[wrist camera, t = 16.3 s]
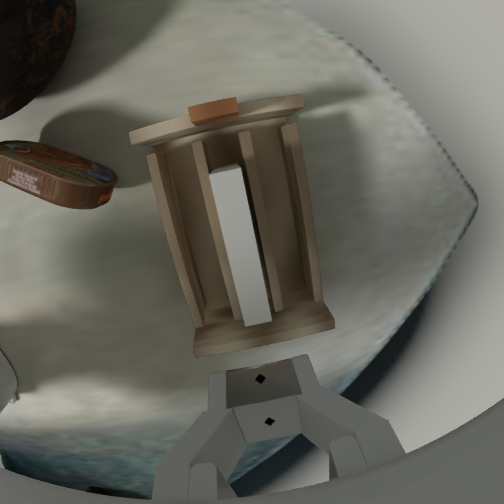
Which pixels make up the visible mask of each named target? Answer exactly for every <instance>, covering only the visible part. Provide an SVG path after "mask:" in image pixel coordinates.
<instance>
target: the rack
mask: <svg viewBox="0 0 504 504" xmlns="http://www.w3.org/2000/svg"><path fill="white" fill-rule="evenodd" d="M303 107H305V105H304V100H303V96H302V94H299V95H290V96H283V97H276V98H269V99H262V100H256V101H250V102H245V103H239V104H237V101H236V97H232V98H227V99H222V100H218V101H213V102H208V103H204V104H200V105H196V106H192V107H188V110H189V115H185V116H181V117H178V118H174V119H170V120H167V121H163V122H160V123H156V124H153V125H150V126H146V127H143V128H140V129H137V130H134V131H131V132H129V136H130V141H131V145H145V146H153V148H154V152H155V153H153V154H149V155H146V158H147V162H148V166H149V171H150V175H151V179H152V183H153V187H154V191H155V195H156V199H157V203H158V207H159V211H160V215H161V218H162V222H163V226H164V229H165V233H166V236H167V240H168V243H169V247H170V250H171V254H172V257H173V260H174V264H175V267H176V270H177V274H178V277H179V280H180V283H181V286H182V289H183V293H184V296H185V299H186V302H187V305H188V308H189V311H190V314H191V317H192V320H193V323H194V325H195V328H196V330H195V337H194V343H193V352H194V355H195V357H196V358H198V357H204V356H211V355H216V354H222V353H228V352H233V351H238V350H244V349H249V348H254V347H259V346H263V345H268V344H273V343H277V342H282V341H286V340H291V339H295V338H299V337H303V336H307V335H311V334H315V333H319V332H323V331H327V330H331V329H334V328H335V320H334V318H333V316H332V314H331V313H330V311H329V309H328V308H327V306H326V305H325V303H324V301H323V294H322V285H321V276H320V267H319V259H318V251H317V244H316V236H315V229H314V222H313V215H312V208H311V202H310V196H309V189H308V183H307V177H306V171H305V166H304V160H303V155H302V149H301V144H300V139H299V133H298V128H297V123H291V124H289V123H288V118H287V117H288V116H290V115H291V114H293V113H295V112H296V111H298V110H300V109H302V108H303ZM234 163H237V164H238V165H239V166H240V168H241V171H242V176H243V181H244V186H245V190H246V195H247V200H248V205H249V210H250V215H251V219H252V224H253V229H254V234H255V239H256V244H257V249H258V253H259V258H260V263H261V268H262V273H263V278H264V283H265V288H266V293H267V298H268V303H269V308H270V313H271V318H272V321H270V322H265V323H260V324H256V325H251V326H246V327H245V323H244V319H243V316H242V312H241V308H240V304H239V300H238V296H237V292H236V288H235V284H234V280H233V276H232V272H231V267H230V263H229V259H228V255H227V251H226V247H225V243H224V238H223V234H222V230H221V226H220V221H219V217H218V213H217V208H216V204H215V200H214V195H213V191H212V187H211V182H210V178H209V174H210V173H211V172H212V171H213V170H214V169H215V168H216V167H220V166H224V165H229V164H234Z"/></svg>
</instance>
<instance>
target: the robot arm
mask: <svg viewBox="0 0 504 504" xmlns="http://www.w3.org/2000/svg"><path fill="white" fill-rule="evenodd" d="M16 389H17V379H16V376H15V373H14V371H13V369H12V367H11V365H10V364H9V362H8V360H7V359H6V358H5V356H4V355H3V353H2V352H1V351H0V413H1V412H2V410H3V409H4V408H5V407H6V405H7V404H8V403H12V404H14V403H15V402H16V395H15V392H16ZM300 433H302V434H303V435H304V436H305V437H307V438H308V439H309V440H310V441H311V442H313V443H314V444H315V445H317V446H318V447H319V448H320V449H321V450H323V451H324V452H325V453H326V454H328V455H329V481H327V482H324V483H319V484H315V485H311V486H307V487H303V488H298V489H293V490H289V491H283V492H278V493H271V494H266V495H258V496H251V497H242V498H238V497H237V496H236V494H235V493H234V491H233V490H232V488H231V487H230V486H229V484H228V483H227V480H228V478H229V476H230V474H231V473H232V471H233V469H234V468H235V466H236V464H237V462H238V461H239V459H240V457H241V455H242V454H243V452H244V450H245V448H246V446H247V444H248V443H254V442H259V441H264V440H269V439H274V438H279V437H285V436H290V435H295V434H300ZM0 504H504V398H503V399H502V400H500V401H499V402H498V403H496V404H495V405H493V406H492V407H490V408H489V409H487V410H486V411H484V412H483V413H481V414H480V415H478V416H477V417H475V418H473V419H472V420H470V421H469V422H467V423H465V424H463V425H462V426H460V427H458V428H457V429H455V430H453V431H451V432H449V433H448V434H446V435H444V436H442V437H440V438H438V439H436V440H434V441H432V442H430V443H428V444H426V445H424V446H422V447H420V448H418V449H416V450H413V451H411V452H409V453H407V454H406V453H405V451H404V449H403V447H402V445H401V444H400V442H399V440H398V438H397V436H396V434H395V432H394V430H393V429H392V427H391V425H390V423H389V421H388V420H386V419H384V418H382V417H380V416H378V415H376V414H374V413H372V412H370V411H368V410H366V409H364V408H363V407H360V406H359V405H357V404H355V403H353V402H351V401H349V400H347V399H345V398H343V397H342V396H340V395H338V394H336V393H334V392H332V391H331V390H329V389H327V388H324V389H321V387H320V385H319V382H318V380H317V377H316V374H315V372H314V369H313V367H312V364H311V361H310V359H309V356H308V355H307V354H304V355H300V356H296V357H292V358H291V359H290V358H289V359H285V360H281V361H277V362H272V363H268V364H263V365H258V366H252V367H247V368H240V369H234V370H228V371H223V372H216V373H211V374H210V376H209V389H208V411H207V412H202V414H201V415H200V416H199V417H198V418H197V419H196V421H195V422H194V423H193V424H192V425H191V426H190V427H189V429H188V430H187V431H186V432H185V433H184V434H183V435H182V436H181V438H180V439H179V440H178V441H177V442H176V443H175V444H174V445H173V446H172V448H171V449H170V450H169V451H168V452H167V453H166V454H165V455H164V456H163V457H162V459H161V460H160V461H159V462H158V463H157V466H156V472H155V479H154V486H153V493H152V500H144V499H132V498H122V497H114V496H107V495H100V494H94V493H88V492H83V491H78V490H73V489H69V488H64V487H60V486H56V485H52V484H48V483H45V482H41V481H38V480H35V479H31V478H28V477H25V476H22V475H19V474H16V473H13V472H11V471H8V470H5V469H3V468H0Z"/></svg>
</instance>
